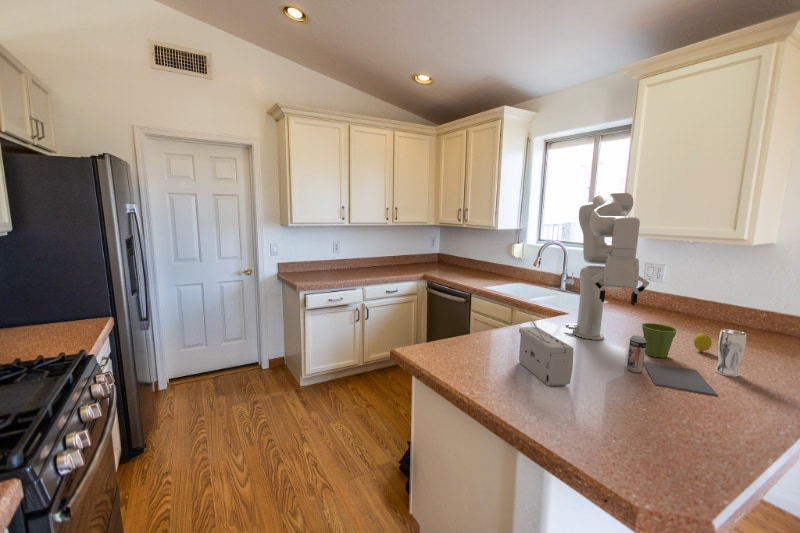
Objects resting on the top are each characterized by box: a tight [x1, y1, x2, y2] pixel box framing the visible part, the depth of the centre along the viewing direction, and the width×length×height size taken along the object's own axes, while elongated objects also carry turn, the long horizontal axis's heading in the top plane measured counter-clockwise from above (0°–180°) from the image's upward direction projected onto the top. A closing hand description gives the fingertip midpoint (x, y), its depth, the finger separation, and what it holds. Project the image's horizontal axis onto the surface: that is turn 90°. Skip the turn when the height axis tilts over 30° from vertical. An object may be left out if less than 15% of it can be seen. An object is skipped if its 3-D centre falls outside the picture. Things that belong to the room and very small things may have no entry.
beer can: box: [626, 335, 646, 374], centre depth 125 cm, size 5×5×12 cm
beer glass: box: [714, 328, 747, 378], centre depth 125 cm, size 7×7×15 cm
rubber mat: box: [643, 361, 719, 397], centre depth 121 cm, size 16×20×1 cm
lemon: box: [693, 332, 712, 353], centre depth 146 cm, size 6×6×8 cm
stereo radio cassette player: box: [518, 309, 575, 387], centre depth 120 cm, size 21×8×20 cm, turn 9°
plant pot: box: [640, 322, 679, 359], centre depth 141 cm, size 12×12×11 cm
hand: (617, 302), depth 126 cm, fingers open, 8 cm apart
